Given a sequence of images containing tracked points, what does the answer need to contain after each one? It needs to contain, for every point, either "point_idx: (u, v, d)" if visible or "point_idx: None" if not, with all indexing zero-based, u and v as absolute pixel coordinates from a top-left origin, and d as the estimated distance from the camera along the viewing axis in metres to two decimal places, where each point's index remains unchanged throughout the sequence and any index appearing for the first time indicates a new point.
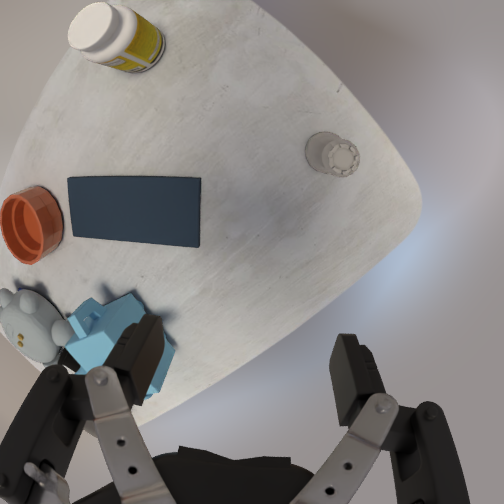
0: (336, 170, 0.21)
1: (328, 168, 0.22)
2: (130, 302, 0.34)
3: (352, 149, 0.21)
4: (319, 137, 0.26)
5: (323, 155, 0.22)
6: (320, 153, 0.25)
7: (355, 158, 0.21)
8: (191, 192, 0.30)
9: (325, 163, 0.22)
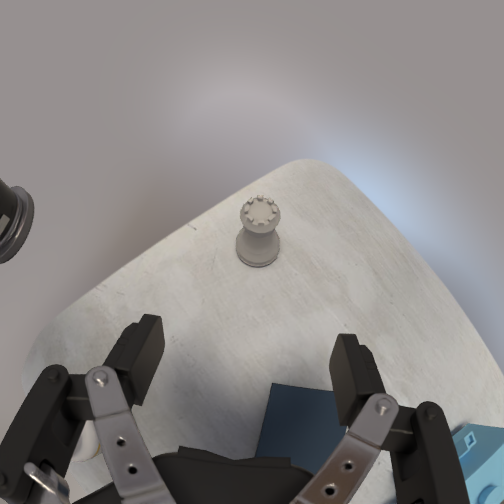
0: (272, 217, 0.22)
1: (270, 227, 0.22)
2: None
3: (250, 200, 0.22)
4: (241, 247, 0.28)
5: (256, 231, 0.23)
6: (256, 243, 0.25)
7: (260, 198, 0.23)
8: (287, 394, 0.24)
9: (264, 229, 0.22)
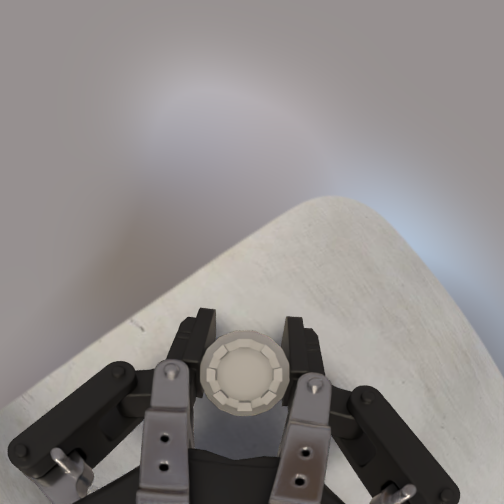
0: (271, 395, 0.09)
1: (266, 406, 0.09)
2: None
3: (220, 353, 0.09)
4: None
5: (235, 413, 0.09)
6: None
7: (244, 347, 0.09)
8: None
9: (254, 412, 0.09)
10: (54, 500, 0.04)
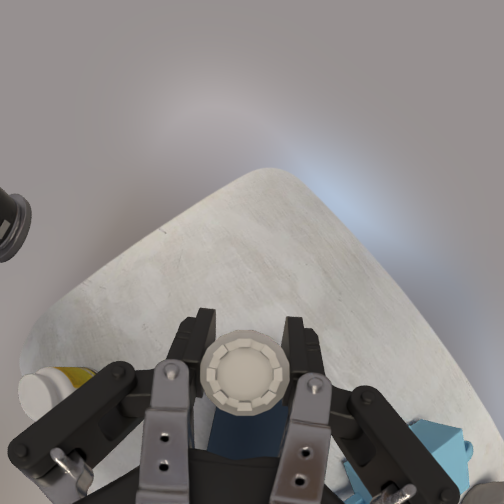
0: (271, 395, 0.09)
1: (266, 406, 0.09)
2: None
3: (221, 352, 0.09)
4: None
5: (235, 413, 0.09)
6: None
7: (244, 347, 0.09)
8: None
9: (254, 412, 0.09)
10: (54, 500, 0.04)
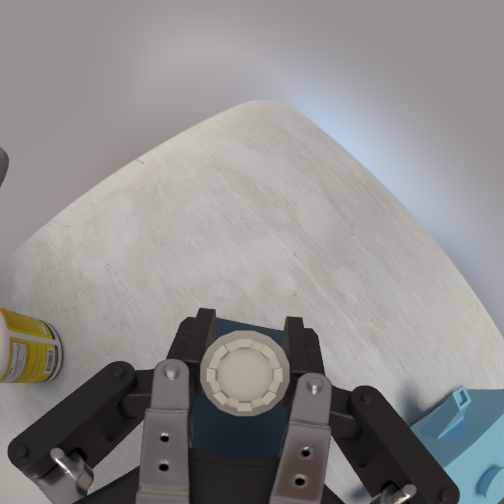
0: (271, 395, 0.09)
1: (266, 406, 0.09)
2: None
3: (220, 353, 0.09)
4: None
5: (235, 413, 0.09)
6: None
7: (244, 347, 0.09)
8: (221, 329, 0.22)
9: (254, 412, 0.09)
10: (54, 500, 0.04)
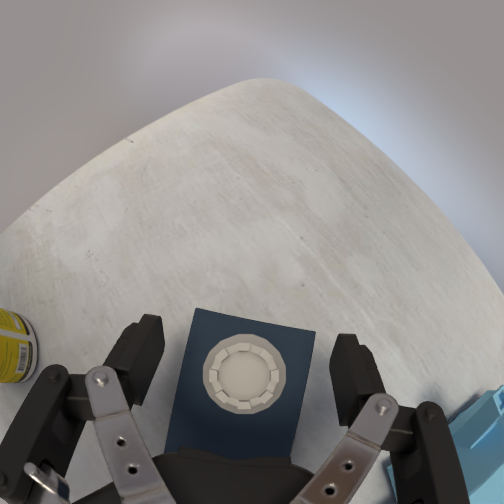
0: (268, 395, 0.09)
1: (264, 405, 0.10)
2: None
3: (222, 355, 0.10)
4: None
5: (235, 411, 0.10)
6: None
7: (243, 350, 0.10)
8: (215, 325, 0.18)
9: (253, 410, 0.10)
10: None
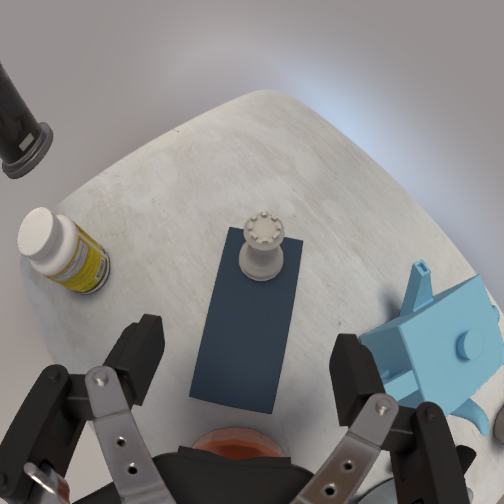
0: (276, 234, 0.22)
1: (274, 244, 0.22)
2: (370, 332, 0.25)
3: (254, 217, 0.22)
4: (244, 262, 0.27)
5: (260, 248, 0.22)
6: (260, 258, 0.25)
7: (264, 215, 0.22)
8: (241, 236, 0.30)
9: (269, 247, 0.22)
10: None
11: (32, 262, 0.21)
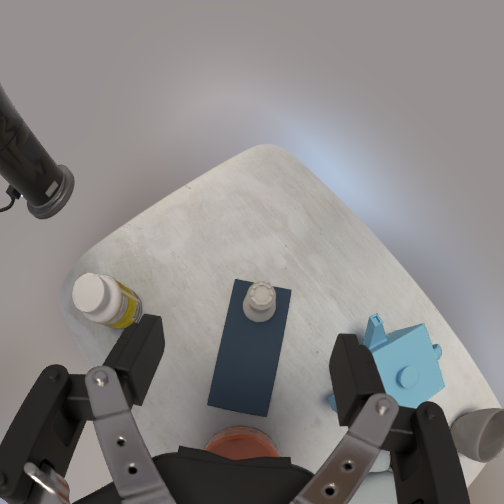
0: (269, 299, 0.31)
1: (268, 305, 0.32)
2: None
3: (254, 286, 0.32)
4: (247, 309, 0.37)
5: (258, 308, 0.32)
6: (258, 310, 0.35)
7: (261, 285, 0.32)
8: (244, 286, 0.40)
9: (264, 307, 0.32)
10: None
11: (85, 313, 0.30)
